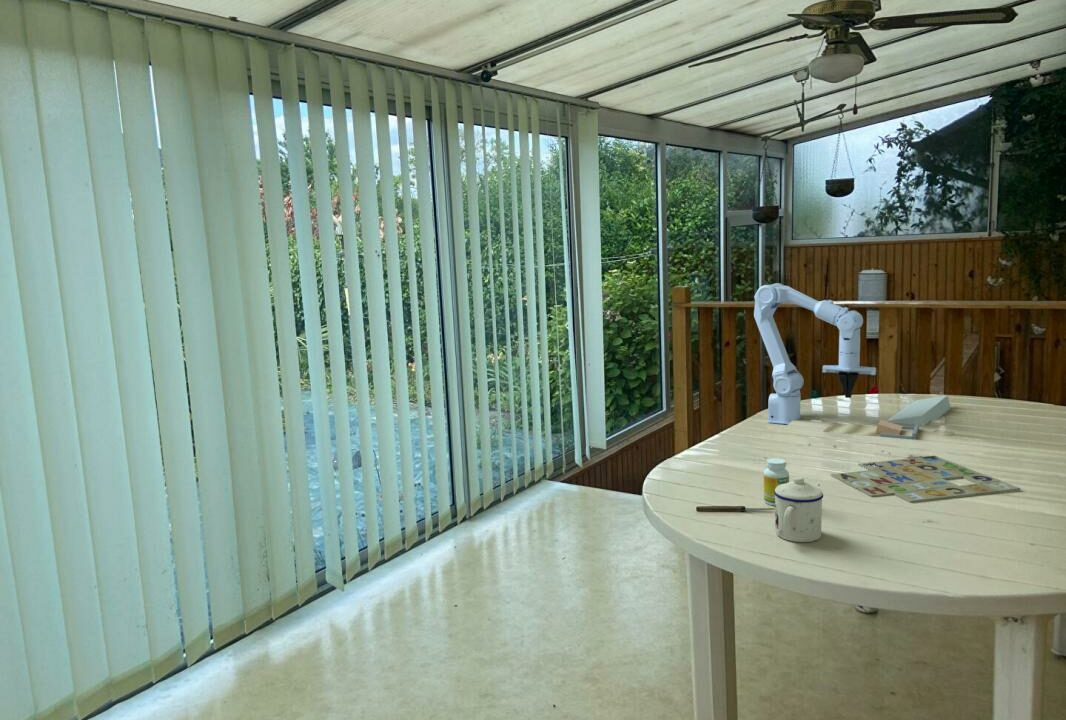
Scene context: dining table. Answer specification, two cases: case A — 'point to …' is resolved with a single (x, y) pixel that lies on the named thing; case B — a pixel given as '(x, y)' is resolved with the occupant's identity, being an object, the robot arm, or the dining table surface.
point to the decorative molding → (922, 411)
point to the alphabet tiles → (921, 480)
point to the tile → (888, 428)
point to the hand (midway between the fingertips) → (848, 397)
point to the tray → (913, 437)
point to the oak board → (852, 429)
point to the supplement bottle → (774, 478)
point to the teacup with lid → (798, 511)
